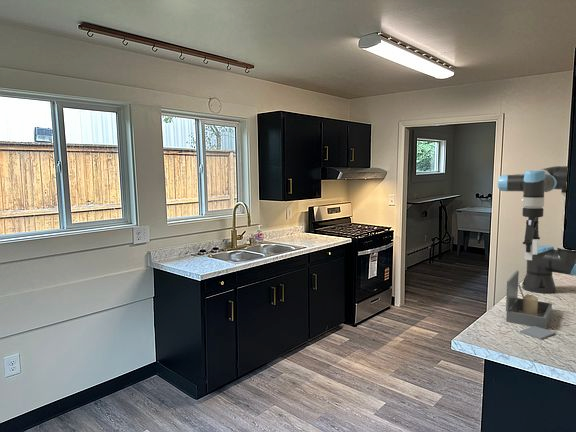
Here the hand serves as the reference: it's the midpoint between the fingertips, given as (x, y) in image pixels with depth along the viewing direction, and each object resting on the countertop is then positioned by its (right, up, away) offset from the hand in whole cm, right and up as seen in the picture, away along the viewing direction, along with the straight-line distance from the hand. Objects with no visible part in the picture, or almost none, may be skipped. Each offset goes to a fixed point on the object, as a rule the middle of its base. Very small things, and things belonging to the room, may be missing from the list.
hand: (530, 256), depth 171 cm
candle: (+1, -27, +3) cm, 27 cm away
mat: (-6, -28, -14) cm, 32 cm away
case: (+1, -26, +3) cm, 27 cm away
